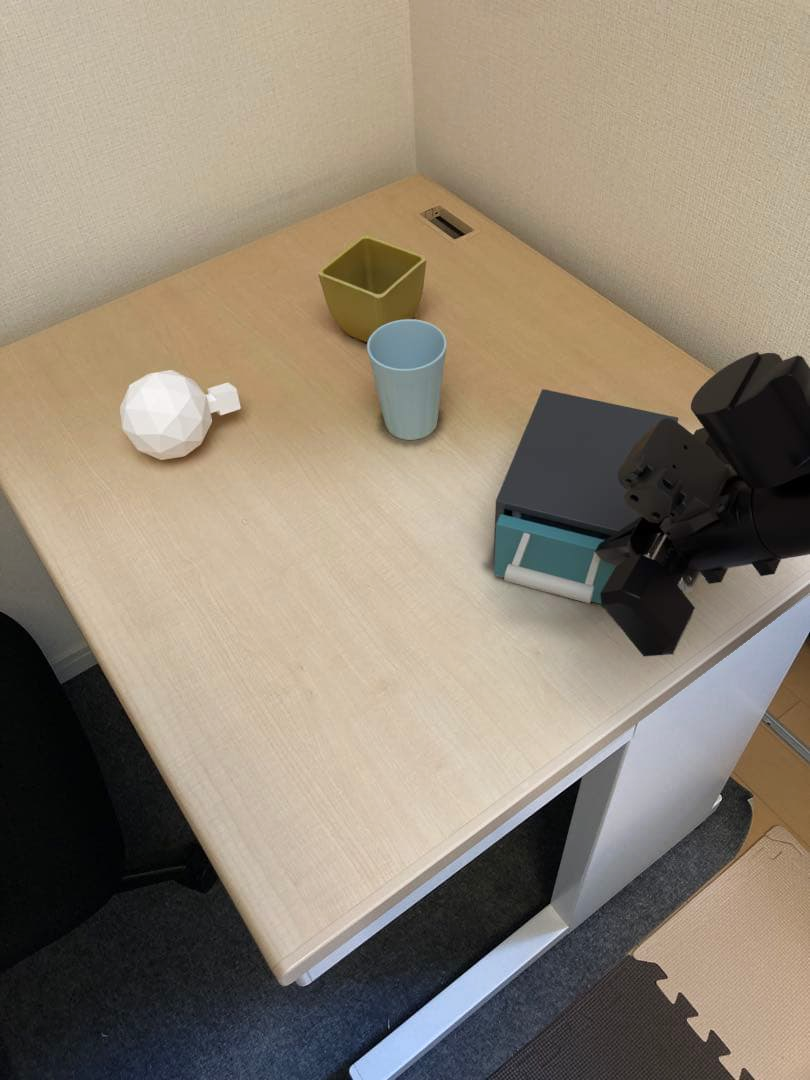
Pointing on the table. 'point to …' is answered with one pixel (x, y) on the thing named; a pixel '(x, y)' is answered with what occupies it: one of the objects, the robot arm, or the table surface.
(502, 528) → the teal drawer
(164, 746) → the table surface
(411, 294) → the flower pot
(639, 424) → the drawer cabinet
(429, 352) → the cup
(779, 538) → the robot arm
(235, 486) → the table surface
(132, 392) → the perfume bottle
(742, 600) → the table surface
